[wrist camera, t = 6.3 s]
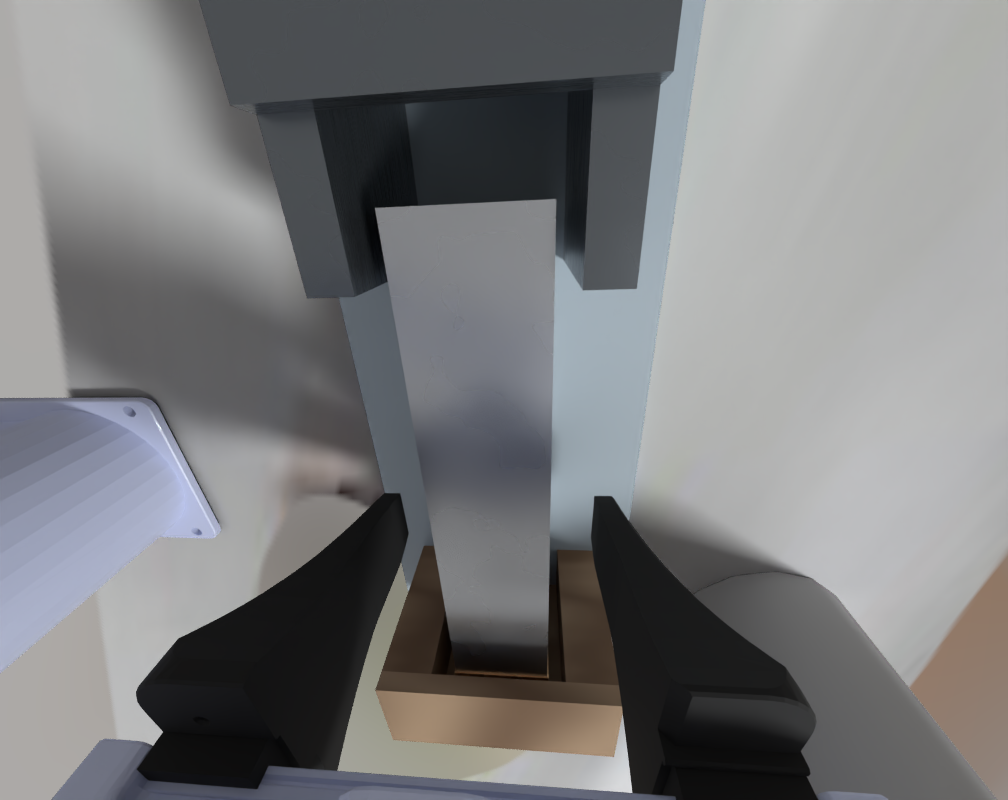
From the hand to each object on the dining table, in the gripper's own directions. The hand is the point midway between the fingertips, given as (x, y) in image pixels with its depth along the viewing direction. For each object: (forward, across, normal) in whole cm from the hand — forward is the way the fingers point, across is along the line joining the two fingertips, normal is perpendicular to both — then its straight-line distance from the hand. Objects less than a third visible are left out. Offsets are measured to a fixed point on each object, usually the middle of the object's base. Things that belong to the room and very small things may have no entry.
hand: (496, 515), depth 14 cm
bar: (+2, 0, -2) cm, 3 cm away
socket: (+3, 0, +6) cm, 7 cm away
